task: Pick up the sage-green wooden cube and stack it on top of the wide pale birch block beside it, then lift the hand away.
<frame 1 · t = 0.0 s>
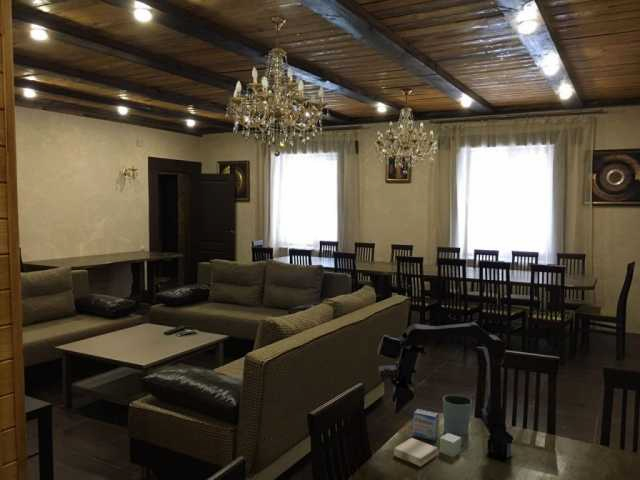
hand: (394, 407, 175), 15 cm above the table, tool pointing down, fingers open, 9 cm apart
green cube: (450, 452, 177), on the table
medicine box: (425, 436, 188), on the table
birch block: (415, 456, 175), on the table
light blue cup: (456, 431, 192), on the table
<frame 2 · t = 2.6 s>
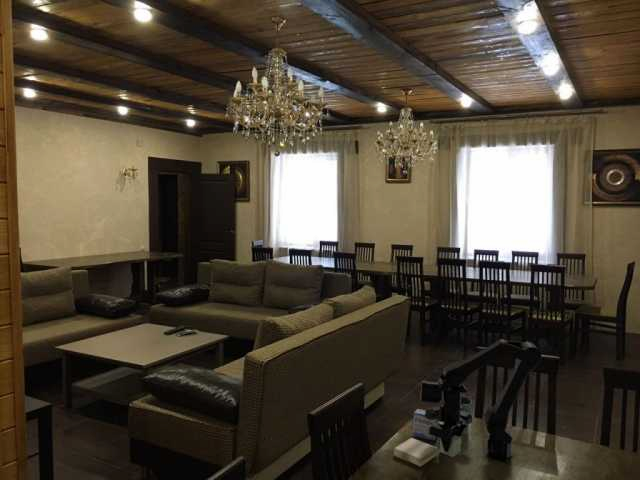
hand: (450, 448, 177), 1 cm above the table, tool pointing down, fingers closed on green cube, 5 cm apart
green cube: (450, 451, 177), on the table, touching gripper
everything else where it was.
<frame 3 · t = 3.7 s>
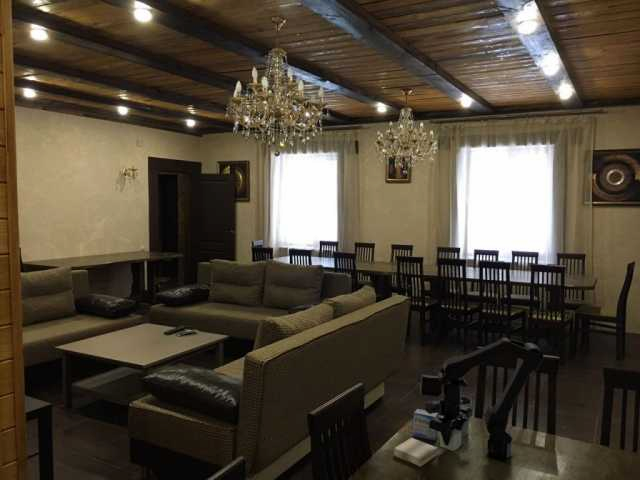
hand: (450, 442, 177), 3 cm above the table, tool pointing down, fingers closed on green cube, 5 cm apart
green cube: (450, 445, 177), point 2 cm above the table, touching gripper
everything else where it was.
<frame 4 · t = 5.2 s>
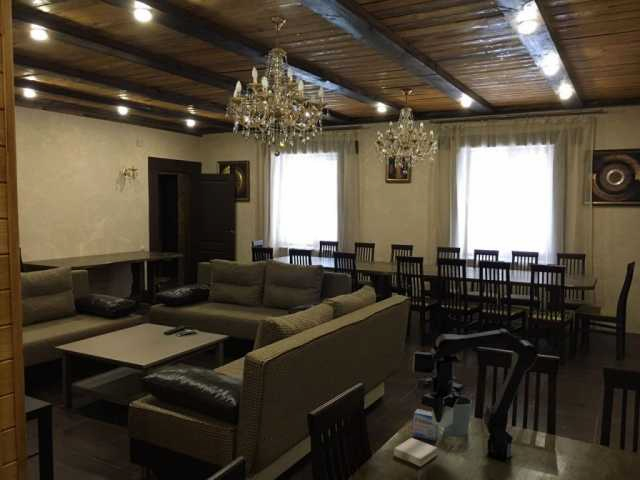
hand: (442, 419, 176), 11 cm above the table, tool pointing down, fingers closed on green cube, 5 cm apart
green cube: (442, 422, 176), point 10 cm above the table, touching gripper
everything else where it was.
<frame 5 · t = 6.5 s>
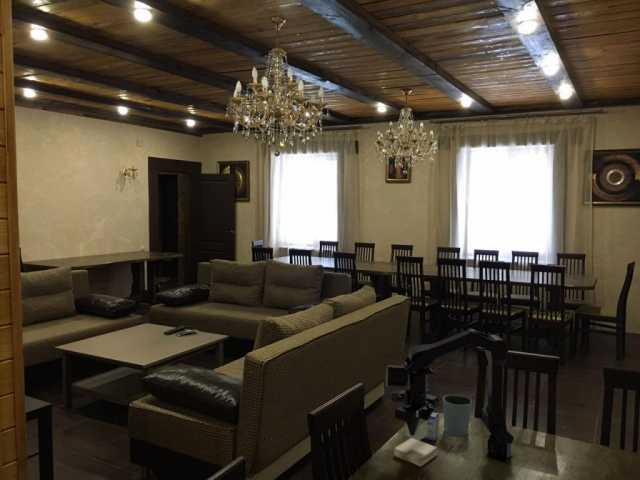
hand: (416, 432, 174), 8 cm above the table, tool pointing down, fingers closed on green cube, 5 cm apart
green cube: (416, 435, 174), point 7 cm above the table, touching gripper
everything else where it was.
when the fingers open (5 cm above the table, at t = 7.7 s): green cube drops 2 cm, resting on birch block.
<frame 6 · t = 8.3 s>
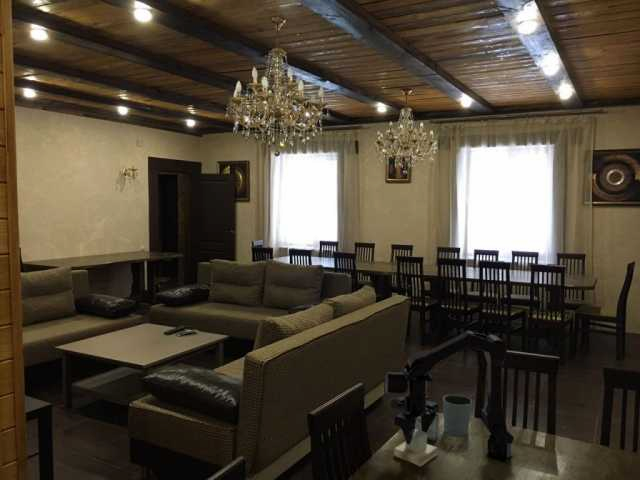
hand: (416, 439, 174), 5 cm above the table, tool pointing down, fingers open, 9 cm apart
green cube: (415, 447, 175), point 2 cm above the table, touching birch block
birch block: (415, 456, 175), on the table, touching green cube
everything else where it was.
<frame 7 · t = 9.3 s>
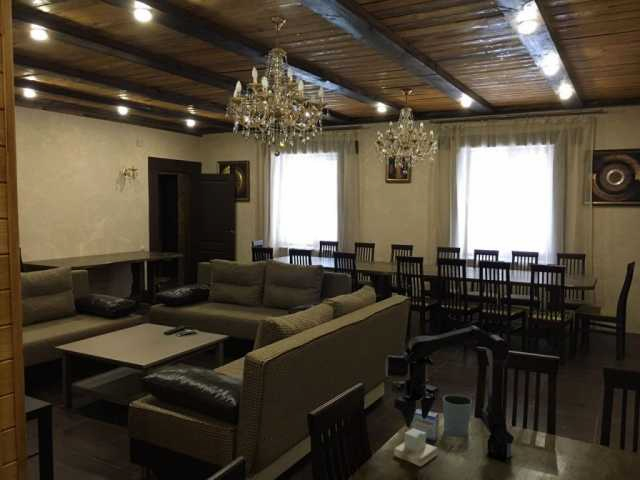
hand: (416, 422, 174), 11 cm above the table, tool pointing down, fingers open, 9 cm apart
nothing on the table moved.
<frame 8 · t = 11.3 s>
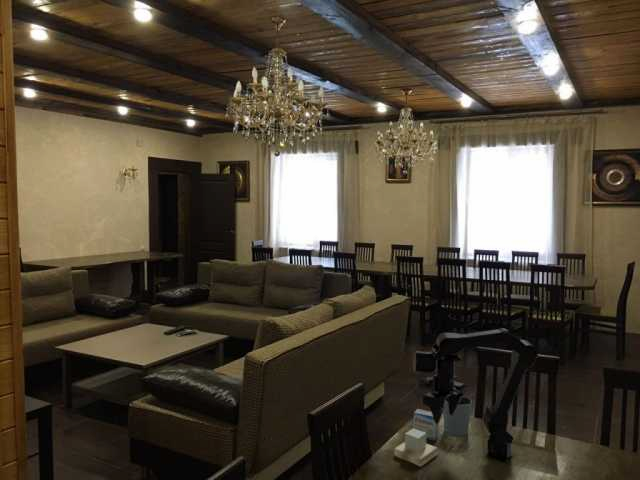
hand: (443, 418, 175), 12 cm above the table, tool pointing down, fingers open, 9 cm apart
nothing on the table moved.
at the end: green cube inside the target area on the birch block (0.2 cm from its centre), point 3.0 cm above the birch block's base; green cube tilted 0°; the gripper is holding nothing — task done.
